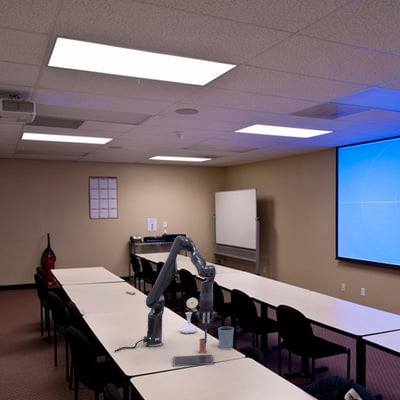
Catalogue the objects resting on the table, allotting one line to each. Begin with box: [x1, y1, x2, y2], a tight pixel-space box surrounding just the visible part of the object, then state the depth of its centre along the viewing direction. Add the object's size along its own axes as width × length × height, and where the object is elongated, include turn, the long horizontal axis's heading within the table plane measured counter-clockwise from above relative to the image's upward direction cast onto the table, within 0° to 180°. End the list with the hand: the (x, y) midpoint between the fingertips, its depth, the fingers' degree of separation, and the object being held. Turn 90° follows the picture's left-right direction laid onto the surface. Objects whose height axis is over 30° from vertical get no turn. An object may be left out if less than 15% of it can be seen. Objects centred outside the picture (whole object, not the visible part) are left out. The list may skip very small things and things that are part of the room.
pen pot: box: [198, 337, 207, 354], centre depth 259 cm, size 4×4×8 cm
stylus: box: [204, 320, 208, 345], centre depth 246 cm, size 1×1×13 cm
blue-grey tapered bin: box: [217, 326, 235, 350], centre depth 270 cm, size 10×10×12 cm
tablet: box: [172, 354, 214, 367], centre depth 244 cm, size 22×14×1 cm, turn 101°
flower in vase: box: [180, 297, 199, 334], centre depth 302 cm, size 13×11×25 cm
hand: (205, 329), depth 246 cm, fingers closed on stylus, 1 cm apart
